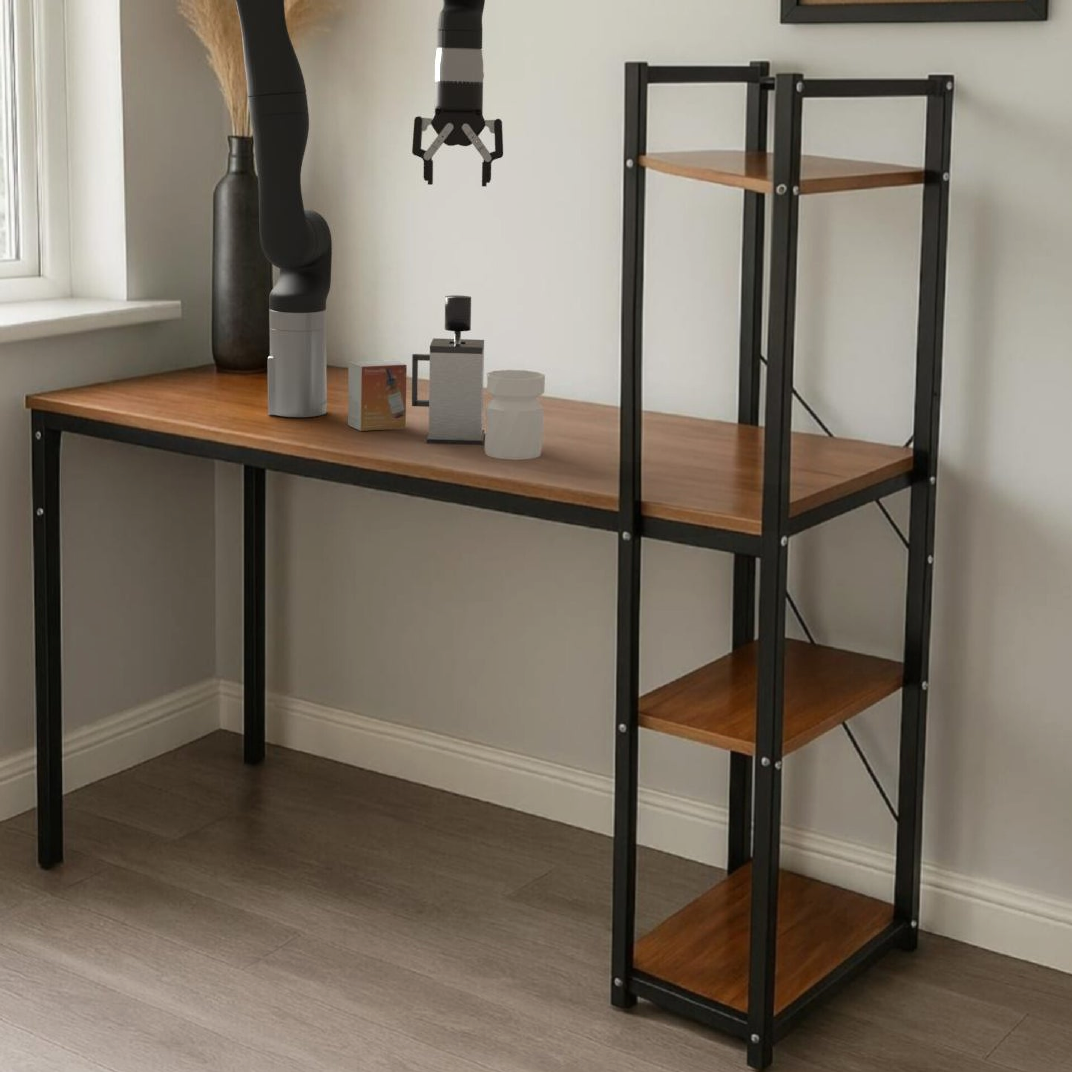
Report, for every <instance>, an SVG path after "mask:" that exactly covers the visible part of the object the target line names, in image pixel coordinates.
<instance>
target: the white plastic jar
mask: <svg viewBox="0 0 1072 1072" xmlns="http://www.w3.org/2000/svg"><path fill="white" fill-rule="evenodd" d="M486 376H487V377H486V379H487V385H486V392H487V393H488V395H490V396H491V397H492V398H493V399H492V400H491V401H489V402H487V403H486V405H485V422H486V427H485V433H484V453H485V455H487V456H488V457H491V458H495V459H500V460H516V461H517V460H519V461H520V460H533V459H536V458H538V457H541V453H542V450H543V448H542V447H543V440H544V406H543V404H542V403H541V402H540V401H539V400H538V398H540V397H541V396H542V395H543V394H544V393H545V385H546V383H545V382H546V381H545V380H546V378H545V376H546V375H545V373H544V374H543V373H541V372H538V371H531V370H525V369H524V370H523V369H521V370H520V369H516V370H515V369H503V370H493V371H490V372H487V373H486Z"/></svg>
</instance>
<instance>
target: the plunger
mask: <svg viewBox="0 0 1072 1072" xmlns="http://www.w3.org/2000/svg"><path fill="white" fill-rule="evenodd" d="M471 321H472V297H471V296H469V295H459V294H455V295H454V294H452V295H445V297H444V330H445V331H448V332H454V335H453V337H454V338H453V339H454V344H461V339H462V332H469V331H471V330H472V328H471V325H472V322H471Z"/></svg>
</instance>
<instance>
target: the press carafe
mask: <svg viewBox="0 0 1072 1072" xmlns="http://www.w3.org/2000/svg"><path fill="white" fill-rule="evenodd" d="M411 357H412V359H411V360H412V361H411V364H412V365H411V366H412V367H411V369H412V370H411V371H412V372H411V374H412V375H411V376H412V377H411V407H425V408H426V407H427V408H428V434H427V438H426V443H427V444H444V445H445V444H447V445H449V444H450V445H478V446H479V445H480V446H481V445H482V446H483V445H484V444H483V443H484V439H485V429H483V424H484V423H483V419H484V418H483V417H484V413H483V412H484V408H483V407H484V373H485V372H484V370H485V369H484V368H485V366H484V365H485V361H484V360H485V340H484V339H467V338H463V339H462V338H461V344H454V338H432V341H431V342H430V345H429V353H428V354H427V353H412V355H411ZM419 361H420V362H421V361H423V362H424V361H427V362H429V380H428V381H429V384H428V385H429V391H428V395H429V396H428V397H429V398H428V399H418V393H419V391H418V390H419V385H418V384H419Z"/></svg>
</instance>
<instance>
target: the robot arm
mask: <svg viewBox="0 0 1072 1072" xmlns="http://www.w3.org/2000/svg"><path fill="white" fill-rule="evenodd" d="M485 3H486V0H443V2H442V10H440V12H439V15H438V17H437V24H436V25H437V27H436V30H437V31H436V53H435V54H436V55H435V62H434V112H433V113H434V114H433V115H432V118H431V117H430V118H429V117H422V116H420V115H419V116H418V115H417V116H415V117H414V120H413V121H414V122H413V132H412V133H413V134H412V148H411V153H412V154H413V156H416V157H418V158H421V159H422V162H423V181H425V182H426V181H427V185H429V186H432V185H433V184H434V183H433V182H434V160H433V157H434V155H435V154H436V152H437V151H438V150H439V149H440V147H441V146H442V145H443V144H444V145H446V146H449V147H453V146H457V145H458V146H461V147H469V146H471V145H473V147H474V148H475V149H476V150H477V152H478V153H479V154H480V156H481V158H482V159H483V161H482V164H481V166H482V167H481V187H487V186H488V185H487V184H489V183H490V182H491V181H492V163H493V161H495V160H498V159H501V158H502V157H503V156H504V141H503V140H504V139H503V138H504V137H503V136H504V135H503V121H502V119H500V118H496V119H485V117H484V116H483V114H484V113H483V112H484V110H483V108H484V107H483V105H484V97H483V96H484V77H485V73H484V59H483V13H484V9H485ZM235 5H236V8H237V13H238V19H239V23H240V29H241V38H242V51H243V61H244V70H245V77H246V91H247V92H246V93H247V99H248V100H247V101H248V110H249V118H250V125H251V129H252V136H253V137H252V138H253V148H254V149H253V150H254V156H255V157H254V158H255V166H256V172H257V181H258V184H257V185H258V220H259V221H258V224H259V226H258V227H259V241H260V246H261V249H262V250H261V251H262V252H263V254H264V256H265V258H266V259H267V260H268V262H269V263H271V265H273V267H276V268H277V269H279V276H278V280H277V282H276V284H275V285H274V287H273V288H272V289H271V291H270V293H269V294H268V295H269V296H268V297H269V298H268V306H269V307H268V309H269V311H268V312H269V316H268V318H269V355H268V356H267V413H268V414H267V415H269V416H279V417H285V418H286V417H287V418H310V417H312V418H313V417H317V416H318V417H319V416H323V415H325V414H327V401H328V399H327V299H328V296H329V294H330V290H331V284H332V283H331V282H332V259H333V257H332V255H333V242H332V234H331V233H332V232H331V230H330V229H331V228H330V227H329V224H328V222H327V220H326V219H325V218H324V216H323V215H321V213H319V212H317V211H315V210H312V209H308V208H305V206H304V201H303V195H302V194H303V193H302V181H301V179H302V177H301V175H302V167H303V160H304V157H305V151H306V147H307V144H308V143H307V142H308V139H309V130H310V114H309V104H308V97H307V96H308V95H307V88H306V83H305V79H304V75H303V72H302V68H301V64H300V62H299V59H298V57H297V54H296V51H295V48H294V45H293V43H292V40H291V37H290V34H289V31H288V27H287V21H286V14H285V13H286V12H285V10H286V9H285V0H235ZM430 125H431V127H432V128H433V130H434V131H435V132H436V134H437V137H436V138H435V139H434V140H433V141H432V143H431V144H430V146H429V147H428V148H427V150H425V149H423V148H422V139H423V132H426V131H427V130H428V127H429V126H430ZM485 127H487V128H488V130H489V132H490V133H491V134H494V151H491V152H490V151H489V150H488V148H487V147H486V146H485V144H484V143H483V141H482V140H481V138H480V134H481V133H482V132H483V130H484V129H485Z"/></svg>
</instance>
